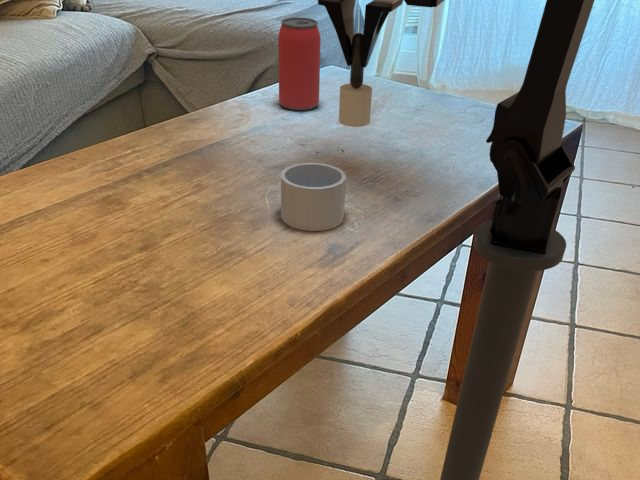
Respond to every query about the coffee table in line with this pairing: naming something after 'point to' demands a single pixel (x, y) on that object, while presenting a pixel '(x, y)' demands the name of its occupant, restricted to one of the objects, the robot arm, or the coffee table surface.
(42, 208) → the coffee table surface
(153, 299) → the coffee table surface
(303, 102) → the beer can
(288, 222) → the grey round cup
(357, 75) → the brush
